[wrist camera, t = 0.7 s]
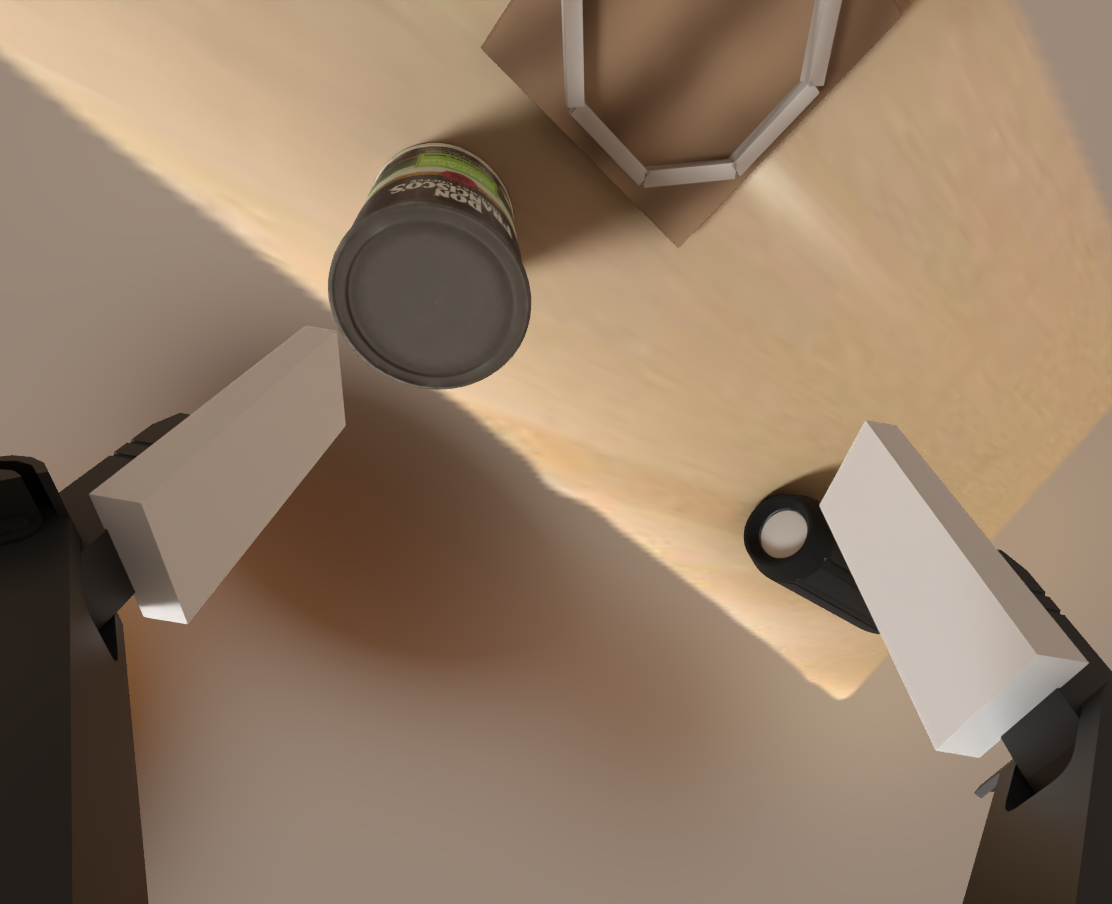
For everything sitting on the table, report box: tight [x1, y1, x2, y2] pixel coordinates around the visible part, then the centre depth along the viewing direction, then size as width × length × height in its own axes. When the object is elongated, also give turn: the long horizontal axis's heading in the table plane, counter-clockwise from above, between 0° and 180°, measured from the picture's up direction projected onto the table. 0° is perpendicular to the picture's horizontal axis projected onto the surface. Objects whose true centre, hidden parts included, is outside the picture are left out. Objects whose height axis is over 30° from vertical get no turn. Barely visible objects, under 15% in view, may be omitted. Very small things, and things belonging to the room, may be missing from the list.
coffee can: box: [328, 143, 531, 389], centre depth 34 cm, size 10×10×14 cm
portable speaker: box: [744, 495, 880, 634], centre depth 65 cm, size 26×10×10 cm, turn 50°
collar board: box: [481, 0, 902, 248], centre depth 33 cm, size 18×18×3 cm
